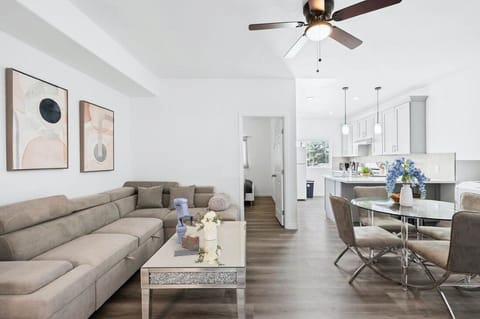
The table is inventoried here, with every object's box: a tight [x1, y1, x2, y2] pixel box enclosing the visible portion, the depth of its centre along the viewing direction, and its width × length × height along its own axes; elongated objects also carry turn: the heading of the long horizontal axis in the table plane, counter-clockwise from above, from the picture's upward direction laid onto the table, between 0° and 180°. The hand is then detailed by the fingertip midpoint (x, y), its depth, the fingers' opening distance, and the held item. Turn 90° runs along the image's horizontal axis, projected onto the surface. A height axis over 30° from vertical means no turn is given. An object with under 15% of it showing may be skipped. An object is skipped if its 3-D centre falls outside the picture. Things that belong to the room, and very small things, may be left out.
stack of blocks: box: [181, 233, 200, 251], centre depth 239 cm, size 21×6×12 cm, turn 41°
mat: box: [173, 249, 199, 257], centre depth 228 cm, size 14×28×1 cm, turn 103°
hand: (187, 225), depth 236 cm, fingers open, 7 cm apart
